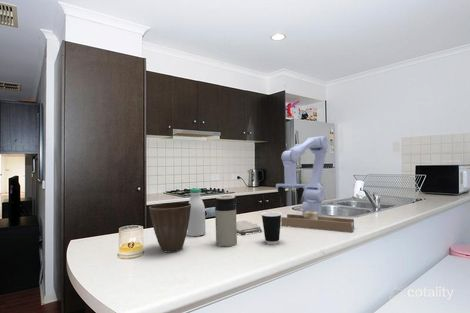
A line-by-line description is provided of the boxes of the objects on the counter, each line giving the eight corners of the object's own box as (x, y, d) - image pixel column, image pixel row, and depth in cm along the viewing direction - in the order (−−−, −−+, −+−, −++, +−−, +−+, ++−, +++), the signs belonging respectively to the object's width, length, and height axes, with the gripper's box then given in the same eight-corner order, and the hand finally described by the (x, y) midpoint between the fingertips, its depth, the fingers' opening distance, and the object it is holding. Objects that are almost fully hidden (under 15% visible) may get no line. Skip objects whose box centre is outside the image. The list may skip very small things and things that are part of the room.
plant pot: (147, 257, 92) (146, 209, 92) (152, 244, 107) (151, 203, 107) (193, 253, 95) (191, 207, 95) (191, 241, 110) (190, 201, 110)
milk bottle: (207, 235, 118) (206, 188, 118) (189, 238, 115) (188, 189, 115) (202, 231, 125) (201, 187, 125) (186, 233, 122) (184, 188, 123)
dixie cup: (285, 244, 102) (284, 214, 103) (264, 246, 101) (263, 216, 101) (279, 238, 110) (278, 211, 110) (259, 240, 109) (258, 212, 109)
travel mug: (239, 241, 108) (237, 195, 109) (233, 247, 101) (232, 198, 101) (220, 240, 110) (218, 195, 111) (213, 246, 103) (211, 197, 103)
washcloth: (241, 237, 116) (240, 229, 116) (222, 228, 132) (222, 222, 132) (264, 232, 122) (264, 225, 122) (243, 225, 138) (243, 219, 138)
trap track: (281, 225, 132) (281, 217, 132) (287, 222, 140) (287, 214, 140) (351, 232, 116) (351, 223, 116) (354, 227, 124) (353, 219, 124)
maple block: (304, 221, 128) (304, 213, 128) (307, 219, 133) (307, 211, 133) (315, 222, 126) (315, 213, 126) (317, 220, 130) (317, 211, 130)
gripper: (273, 175, 134) (274, 203, 134) (302, 175, 127) (303, 205, 127) (278, 174, 141) (279, 201, 140) (306, 174, 133) (307, 202, 133)
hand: (291, 203), depth 134 cm, fingers open, 7 cm apart
